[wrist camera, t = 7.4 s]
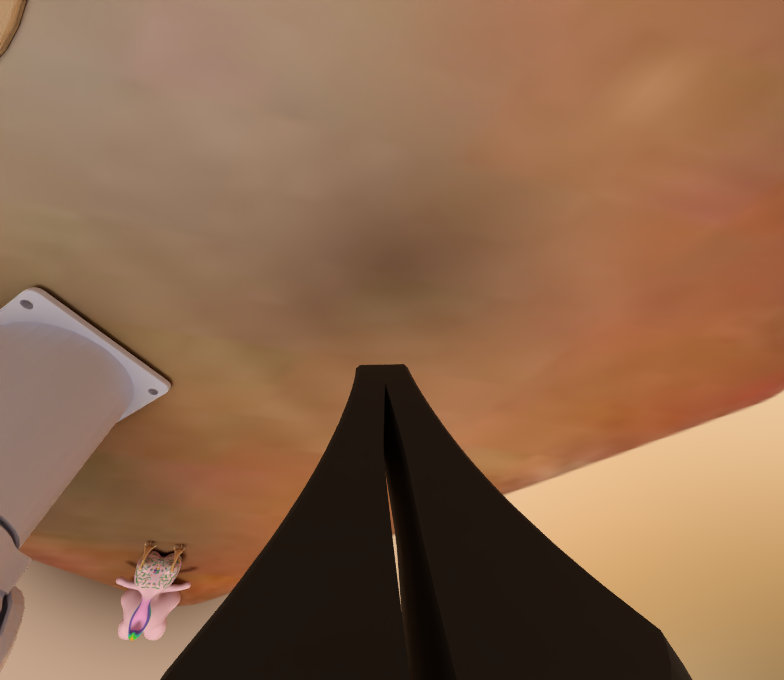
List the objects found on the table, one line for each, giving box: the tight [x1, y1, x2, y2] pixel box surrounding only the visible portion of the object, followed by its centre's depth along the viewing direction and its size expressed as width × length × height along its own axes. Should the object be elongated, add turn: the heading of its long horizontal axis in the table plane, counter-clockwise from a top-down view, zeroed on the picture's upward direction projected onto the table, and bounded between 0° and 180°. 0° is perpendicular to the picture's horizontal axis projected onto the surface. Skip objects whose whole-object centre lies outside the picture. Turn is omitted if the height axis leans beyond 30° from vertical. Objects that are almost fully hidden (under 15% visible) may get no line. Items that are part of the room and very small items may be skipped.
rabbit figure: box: [116, 541, 191, 641], centre depth 32 cm, size 6×6×15 cm
